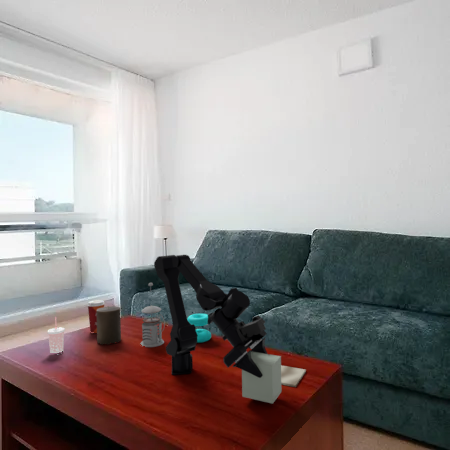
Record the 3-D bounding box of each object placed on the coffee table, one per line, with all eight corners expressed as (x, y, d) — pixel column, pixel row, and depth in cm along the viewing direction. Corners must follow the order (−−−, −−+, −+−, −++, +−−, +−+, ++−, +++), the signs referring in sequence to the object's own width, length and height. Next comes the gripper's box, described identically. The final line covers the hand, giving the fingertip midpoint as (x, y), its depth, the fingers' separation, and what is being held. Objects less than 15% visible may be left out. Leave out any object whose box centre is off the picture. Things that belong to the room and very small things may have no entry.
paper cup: (100, 334, 160) (99, 303, 160) (84, 334, 161) (83, 303, 161) (109, 329, 168) (108, 299, 167) (94, 328, 169) (93, 299, 169)
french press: (152, 337, 155) (151, 279, 154) (172, 342, 148) (170, 282, 147) (135, 344, 147) (133, 283, 146) (154, 349, 140) (152, 286, 139)
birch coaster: (258, 379, 112) (257, 377, 112) (271, 365, 122) (271, 363, 122) (295, 387, 106) (295, 385, 106) (305, 371, 117) (305, 369, 117)
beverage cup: (60, 355, 136) (59, 318, 136) (44, 355, 136) (43, 319, 136) (68, 349, 142) (67, 314, 142) (53, 349, 142) (51, 314, 142)
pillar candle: (116, 344, 147) (116, 308, 147) (93, 345, 147) (92, 308, 147) (123, 337, 156) (123, 302, 156) (101, 337, 156) (101, 303, 156)
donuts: (209, 319, 145) (185, 319, 146) (210, 343, 146) (186, 343, 146) (211, 312, 155) (188, 312, 156) (212, 335, 156) (189, 335, 156)
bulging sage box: (242, 396, 98) (241, 360, 98) (252, 385, 104) (251, 351, 104) (272, 403, 94) (272, 365, 94) (281, 391, 100) (280, 356, 100)
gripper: (233, 317, 92) (274, 367, 87) (259, 301, 109) (295, 342, 104) (207, 343, 96) (245, 392, 91) (236, 324, 113) (270, 365, 108)
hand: (266, 371), depth 98 cm, fingers closed on bulging sage box, 7 cm apart
